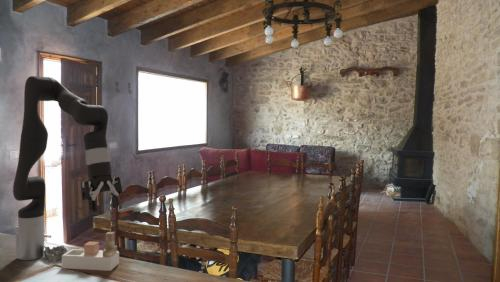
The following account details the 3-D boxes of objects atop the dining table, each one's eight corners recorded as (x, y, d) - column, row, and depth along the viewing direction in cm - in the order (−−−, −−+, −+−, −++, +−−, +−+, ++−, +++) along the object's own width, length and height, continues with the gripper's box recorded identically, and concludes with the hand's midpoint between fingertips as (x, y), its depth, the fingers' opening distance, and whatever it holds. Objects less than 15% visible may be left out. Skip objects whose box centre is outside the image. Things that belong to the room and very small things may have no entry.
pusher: (102, 256, 146) (102, 234, 145) (109, 251, 152) (109, 230, 151) (110, 257, 145) (110, 235, 145) (117, 251, 151) (117, 230, 151)
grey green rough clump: (42, 255, 159) (42, 245, 159) (62, 251, 164) (62, 242, 164) (48, 262, 151) (48, 252, 151) (68, 259, 156) (68, 249, 156)
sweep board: (61, 268, 146) (61, 255, 146) (72, 261, 154) (72, 248, 154) (110, 270, 145) (110, 257, 145) (119, 263, 152) (119, 251, 152)
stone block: (84, 254, 147) (84, 244, 147) (89, 251, 151) (89, 241, 151) (94, 255, 147) (94, 245, 147) (99, 251, 151) (99, 241, 151)
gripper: (108, 162, 137) (115, 207, 136) (72, 165, 125) (79, 214, 124) (122, 159, 133) (129, 205, 132) (86, 162, 121) (93, 213, 120)
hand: (105, 209), depth 128 cm, fingers open, 8 cm apart
